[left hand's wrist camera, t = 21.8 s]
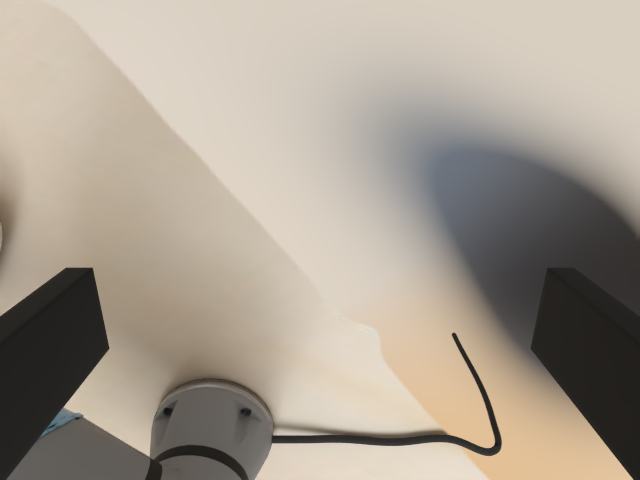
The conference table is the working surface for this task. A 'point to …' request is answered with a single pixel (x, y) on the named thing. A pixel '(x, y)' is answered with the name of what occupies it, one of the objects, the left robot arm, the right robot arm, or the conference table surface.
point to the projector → (0, 236)
